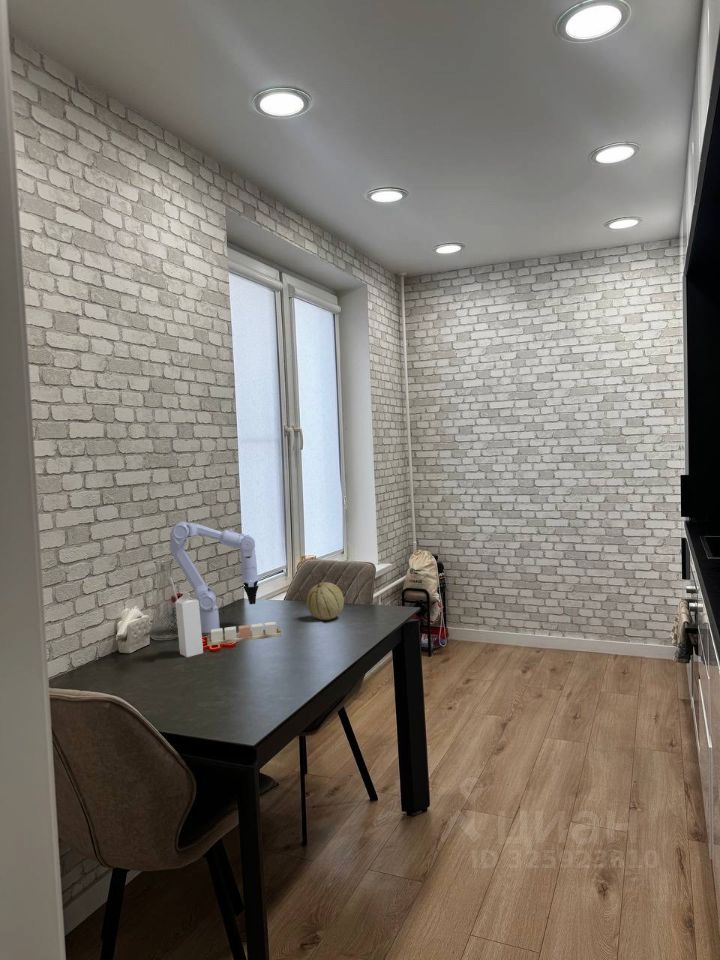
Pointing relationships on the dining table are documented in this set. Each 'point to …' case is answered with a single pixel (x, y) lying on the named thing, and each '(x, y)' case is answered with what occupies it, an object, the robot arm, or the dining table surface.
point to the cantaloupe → (325, 601)
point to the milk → (189, 625)
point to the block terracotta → (244, 631)
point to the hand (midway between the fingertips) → (252, 601)
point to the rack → (238, 639)
